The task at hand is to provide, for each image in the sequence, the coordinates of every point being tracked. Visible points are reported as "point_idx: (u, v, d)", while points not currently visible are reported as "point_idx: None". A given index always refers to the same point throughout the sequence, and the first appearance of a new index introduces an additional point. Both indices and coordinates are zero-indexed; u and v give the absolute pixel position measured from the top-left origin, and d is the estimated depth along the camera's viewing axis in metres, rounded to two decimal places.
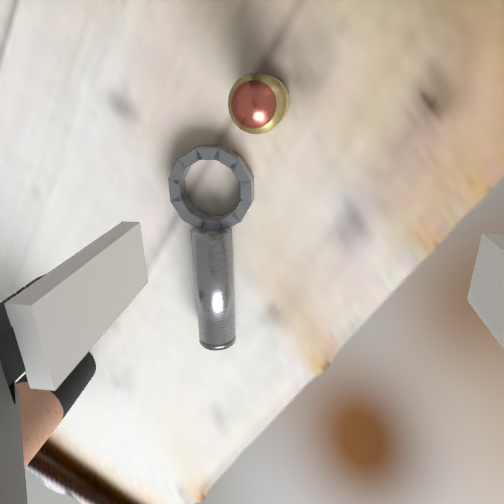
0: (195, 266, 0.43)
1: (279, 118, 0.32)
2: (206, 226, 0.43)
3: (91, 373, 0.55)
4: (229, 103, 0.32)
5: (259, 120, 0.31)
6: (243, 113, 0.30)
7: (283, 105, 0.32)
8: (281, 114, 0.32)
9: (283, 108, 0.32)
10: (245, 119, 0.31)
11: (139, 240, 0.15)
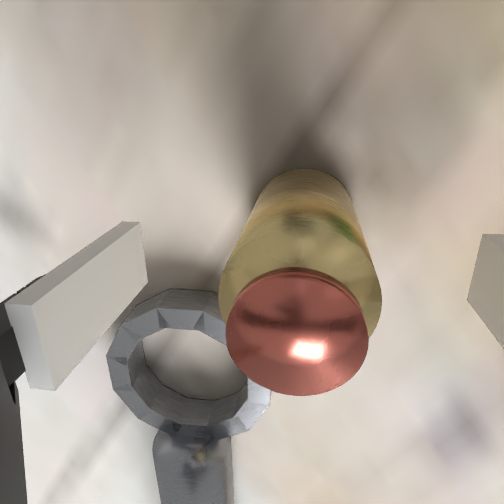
0: None
1: None
2: (183, 432, 0.23)
3: None
4: (221, 297, 0.12)
5: (312, 378, 0.10)
6: (264, 358, 0.10)
7: (376, 312, 0.11)
8: (368, 332, 0.11)
9: (375, 318, 0.11)
10: (269, 372, 0.10)
11: (139, 240, 0.15)
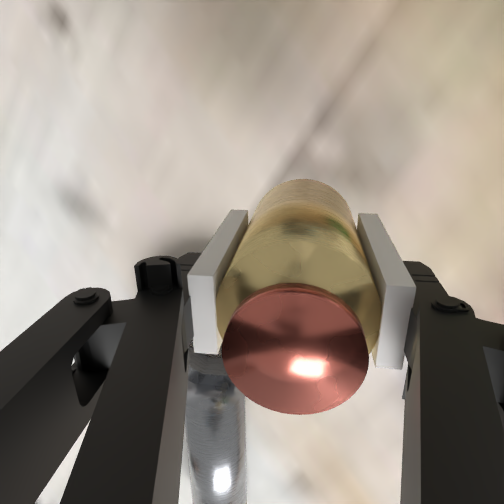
0: (189, 441, 0.29)
1: None
2: (206, 381, 0.28)
3: None
4: (218, 310, 0.11)
5: (310, 397, 0.10)
6: (261, 376, 0.10)
7: (376, 328, 0.11)
8: (367, 348, 0.11)
9: (375, 335, 0.11)
10: (266, 390, 0.10)
11: (247, 226, 0.17)
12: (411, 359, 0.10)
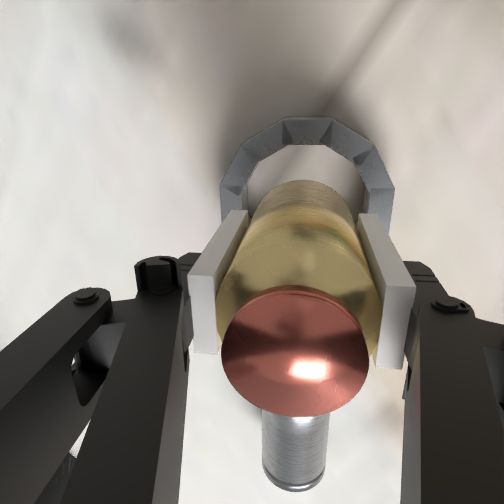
0: None
1: None
2: None
3: None
4: (218, 312, 0.11)
5: (310, 400, 0.10)
6: (261, 379, 0.10)
7: (376, 331, 0.11)
8: (368, 350, 0.11)
9: (375, 337, 0.11)
10: (265, 393, 0.10)
11: (247, 227, 0.17)
12: (411, 359, 0.10)
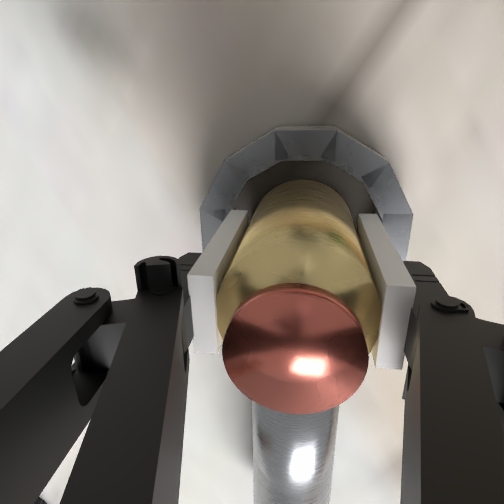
0: (259, 405, 0.19)
1: None
2: None
3: None
4: (218, 310, 0.11)
5: (310, 397, 0.10)
6: (261, 376, 0.10)
7: (376, 328, 0.11)
8: (367, 348, 0.11)
9: (375, 335, 0.11)
10: (266, 390, 0.10)
11: None
12: (411, 359, 0.10)
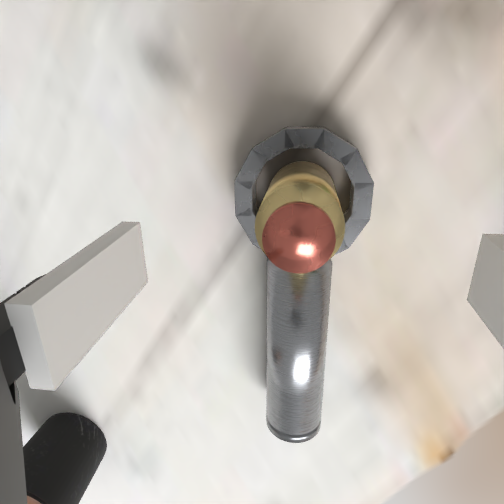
0: (273, 318, 0.27)
1: (334, 250, 0.20)
2: None
3: (100, 457, 0.39)
4: (256, 225, 0.21)
5: (307, 262, 0.19)
6: (282, 251, 0.19)
7: (342, 232, 0.20)
8: (338, 245, 0.20)
9: (342, 236, 0.20)
10: (284, 259, 0.19)
11: (139, 240, 0.15)
12: None
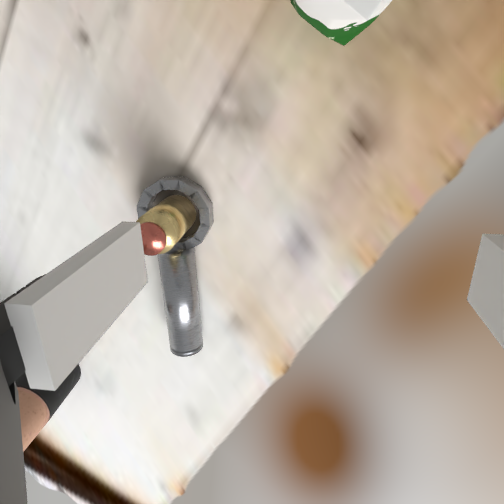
0: (162, 282, 0.49)
1: (173, 244, 0.42)
2: None
3: (76, 378, 0.61)
4: None
5: (154, 250, 0.40)
6: None
7: (174, 235, 0.41)
8: (174, 241, 0.42)
9: (175, 237, 0.42)
10: None
11: (139, 240, 0.15)
12: None
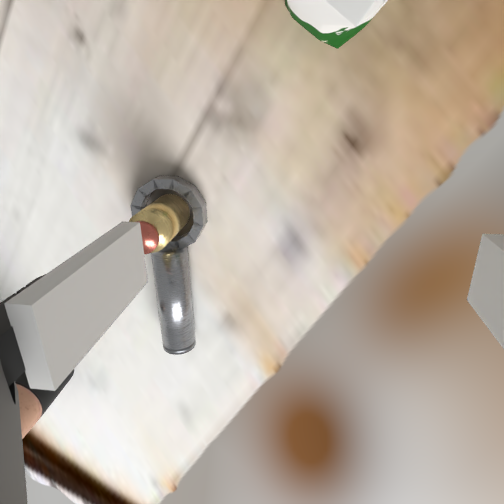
0: (155, 281, 0.49)
1: (165, 243, 0.42)
2: None
3: (69, 374, 0.61)
4: None
5: (146, 248, 0.41)
6: None
7: (167, 234, 0.42)
8: (166, 240, 0.42)
9: (168, 236, 0.42)
10: None
11: (139, 240, 0.15)
12: None
